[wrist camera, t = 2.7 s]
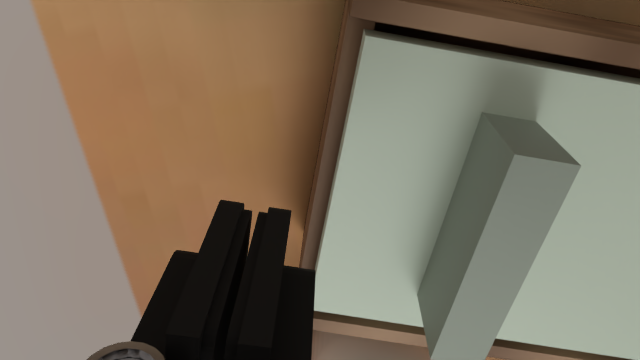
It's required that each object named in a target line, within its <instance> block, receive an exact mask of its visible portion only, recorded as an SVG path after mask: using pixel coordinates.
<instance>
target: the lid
mask: <svg viewBox="0 0 640 360" xmlns="http://www.w3.org/2000/svg"><path fill="white" fill-rule="evenodd" d="M315 271H316V278H315V298H314V311H320V312H327V313H333V314H340V315H346V316H353V317H360V318H366V319H373V320H379V321H386V322H392V323H399V324H405V325H412V326H418V327H424V331H425V336H426V341H427V346H428V351H429V356H430V359H432V360H485V359H486V357H487V355H488V353H489V351H490V349H491V347H492V345H493V342H494V340H495V338H496V339H503V340H509V341H516V342H522V343H529V344H535V345H542V346H548V347H555V348H561V349H568V350H574V351H581V352H587V353H594V354H600V355H607V356H613V357H620V358H626V359H633V360H640V78H635V77H629V76H624V75H618V74H613V73H607V72H601V71H596V70H590V69H585V68H579V67H574V66H568V65H563V64H557V63H552V62H546V61H540V60H535V59H529V58H524V57H518V56H513V55H507V54H502V53H496V52H491V51H485V50H479V49H474V48H468V47H463V46H457V45H452V44H446V43H441V42H435V41H430V40H424V39H418V38H413V37H407V36H402V35H396V34H391V33H385V32H380V31H374V30H369V29H364V31H363V36H362V41H361V46H360V51H359V56H358V60H357V65H356V70H355V75H354V80H353V85H352V90H351V95H350V99H349V104H348V109H347V114H346V119H345V124H344V129H343V134H342V139H341V143H340V148H339V153H338V158H337V163H336V168H335V173H334V178H333V182H332V187H331V192H330V197H329V202H328V207H327V212H326V217H325V222H324V226H323V231H322V236H321V241H320V246H319V251H318V256H317V261H316V265H315Z"/></svg>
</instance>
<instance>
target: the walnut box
mask: <svg viewBox="0 0 640 360" xmlns="http://www.w3.org/2000/svg"><path fill="white" fill-rule="evenodd" d="M364 29H369V30H374V31H380V32H385V33H391V34H396V35H402V36H407V37H413V38H418V39H424V40H430V41H435V42H441V43H446V44H452V45H457V46H463V47H468V48H474V49H479V50H485V51H491V52H496V53H502V54H507V55H513V56H518V57H524V58H529V59H535V60H540V61H546V62H552V63H557V64H563V65H568V66H574V67H579V68H585V69H590V70H596V71H601V72H607V73H613V74H618V75H624V76H629V77H635V78H640V26H635V25H630V24H624V23H619V22H613V21H608V20H603V19H597V18H592V17H586V16H581V15H576V14H570V13H565V12H559V11H554V10H549V9H543V8H538V7H532V6H527V5H522V4H516V3H511V2H505V1H500V0H346V1H345V7H344V12H343V18H342V23H341V29H340V34H339V40H338V45H337V51H336V56H335V62H334V67H333V73H332V78H331V84H330V90H329V95H328V101H327V106H326V112H325V117H324V123H323V128H322V134H321V139H320V145H319V150H318V156H317V161H316V167H315V173H314V178H313V184H312V189H311V195H310V200H309V206H308V211H307V217H306V222H305V228H304V234H303V242H302V250H301V257H300V265H299V268H304V269H311V270H315V265H316V261H317V256H318V251H319V246H320V241H321V236H322V231H323V226H324V222H325V217H326V212H327V207H328V202H329V197H330V192H331V187H332V182H333V178H334V173H335V168H336V163H337V158H338V153H339V148H340V143H341V139H342V134H343V129H344V124H345V119H346V114H347V109H348V104H349V99H350V95H351V90H352V85H353V80H354V75H355V70H356V65H357V60H358V56H359V51H360V46H361V41H362V36H363V31H364ZM313 330H316V331H323V332H329V333H336V334H342V335H349V336H355V337H362V338H369V339H375V340H382V341H388V342H395V343H402V344H408V345H415V346H421V347H428V346H427V341H426V336H425V331H424V327H418V326H412V325H405V324H399V323H392V322H386V321H379V320H373V319H366V318H360V317H353V316H346V315H340V314H333V313H327V312H320V311H314V317H313ZM487 357H494V358H500V359H507V360H633V359H626V358H620V357H613V356H607V355H600V354H594V353H587V352H581V351H574V350H568V349H561V348H555V347H548V346H542V345H535V344H529V343H522V342H516V341H509V340H503V339H496V338H495V340H494V342H493V345H492V347H491V349H490V351H489V353H488V355H487Z"/></svg>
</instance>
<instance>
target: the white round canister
mask: <svg viewBox="0 0 640 360" xmlns="http://www.w3.org/2000/svg"><path fill="white" fill-rule="evenodd" d="M311 360H432V359H430V356H429V351H428V347H421V346H415V345H408V344H402V343H395V342H388V341H382V340H375V339H369V338H362V337H355V336H349V335H342V334H336V333H329V332H323V331H316V330H313V337H312V356H311Z"/></svg>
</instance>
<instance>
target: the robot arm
mask: <svg viewBox="0 0 640 360" xmlns="http://www.w3.org/2000/svg"><path fill="white" fill-rule="evenodd" d="M290 218H291V210H285V209H278V208H272V207H269V209H268V213H264V212H259V214H258V217H257V221H256V225H255V229H254V233H253V237H252V240H251V244H250V248H249V252H248V246H249V237H250V228H251V219H252V211H251V210H244V203H239V202H232V201H226V200H220V202H219V204H218V207H217V209H216V211H215V214H214V216H213V219H212V221H211V224H210V226H209V228H208V231H207V233H206V236H205V238H204V241H203V243H202V245H201V248H200V250H199V253H194V252H187V251H181V250H176V251H175V252H174V254H173V255H172V257H171V259H170V261H169V263H168V265H167V267H166V269H165V271H164V273H163V275H162V278H161V280H160V282H159V284H158V286H157V288H156V290H155V292H154V294H153V296H152V298H151V300H150V302H149V304H148V306H147V308H146V310H145V313H144V315H143V317H142V319H141V321H140V323H139V325H138V327H137V329H136V331H135V333H134V335H133V337H132V339H131V341H129V342H121V343H116V344H113V345H110V346H107V347H104V348H103V349H101V350H99V351H97V352H96V353H94V354H93V355H91V356H90V357H89V358H88V359H87V360H311V356H312V337H313V317H314V298H315V278H316V271H315V270H311V269H304V268H298V267H291V266H284V259H285V252H286V245H287V238H288V232H289V225H290ZM247 255H248V256H247Z"/></svg>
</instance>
